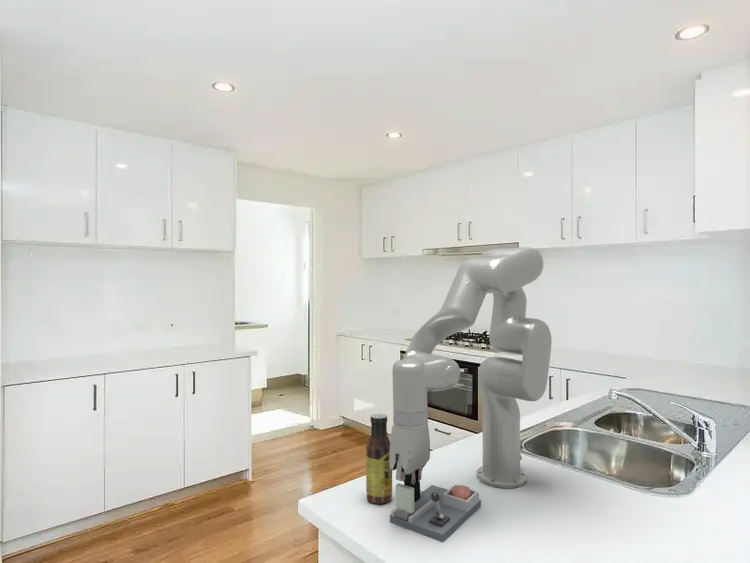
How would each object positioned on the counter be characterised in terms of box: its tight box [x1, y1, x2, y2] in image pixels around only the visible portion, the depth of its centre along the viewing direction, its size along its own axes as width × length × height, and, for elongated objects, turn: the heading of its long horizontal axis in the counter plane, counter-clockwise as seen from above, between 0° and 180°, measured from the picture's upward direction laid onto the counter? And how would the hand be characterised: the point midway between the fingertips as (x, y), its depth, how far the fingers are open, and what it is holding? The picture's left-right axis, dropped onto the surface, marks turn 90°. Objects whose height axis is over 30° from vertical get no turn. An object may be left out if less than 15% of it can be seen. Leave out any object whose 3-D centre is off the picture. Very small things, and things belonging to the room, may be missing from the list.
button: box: [451, 484, 471, 500], centre depth 107 cm, size 4×4×3 cm
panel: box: [389, 484, 482, 543], centre depth 105 cm, size 18×13×4 cm
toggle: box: [431, 492, 445, 520], centre depth 98 cm, size 2×2×6 cm
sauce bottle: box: [365, 413, 393, 505], centre depth 112 cm, size 7×6×20 cm
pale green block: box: [395, 482, 415, 520], centre depth 101 cm, size 3×4×6 cm
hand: (412, 498), depth 104 cm, fingers closed
